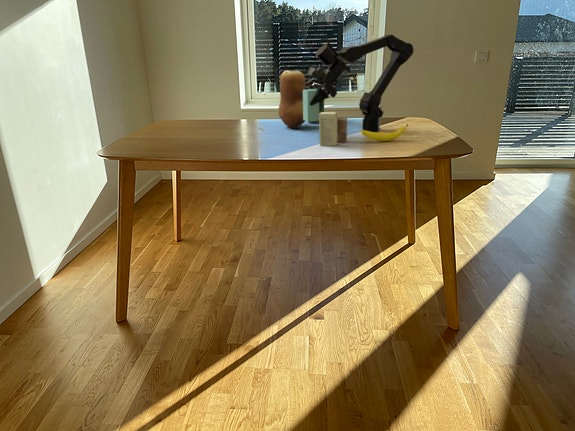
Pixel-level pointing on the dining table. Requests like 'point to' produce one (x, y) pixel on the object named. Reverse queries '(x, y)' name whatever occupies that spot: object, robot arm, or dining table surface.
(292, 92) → the butternut squash
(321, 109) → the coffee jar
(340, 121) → the walnut block
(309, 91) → the teal block
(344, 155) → the dining table surface
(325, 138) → the skincare box
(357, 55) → the robot arm
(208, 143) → the dining table surface
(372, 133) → the banana
